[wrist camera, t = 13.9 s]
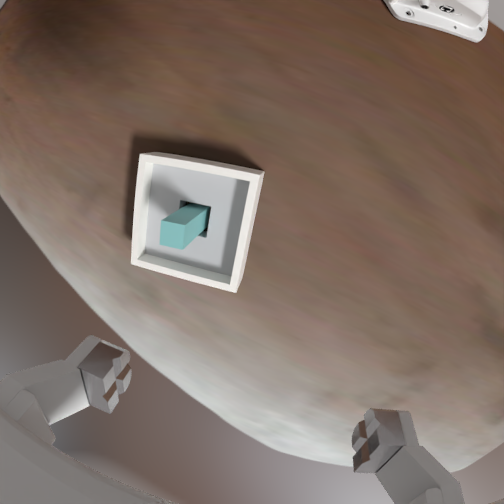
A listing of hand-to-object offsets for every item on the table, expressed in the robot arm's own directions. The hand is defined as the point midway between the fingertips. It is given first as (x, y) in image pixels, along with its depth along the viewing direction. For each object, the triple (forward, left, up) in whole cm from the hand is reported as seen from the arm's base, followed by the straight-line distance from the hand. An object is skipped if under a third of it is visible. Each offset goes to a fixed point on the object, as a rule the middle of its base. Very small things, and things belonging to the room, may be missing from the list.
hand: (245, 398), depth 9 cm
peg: (+12, +5, -34) cm, 37 cm away
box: (+12, +5, -34) cm, 36 cm away
